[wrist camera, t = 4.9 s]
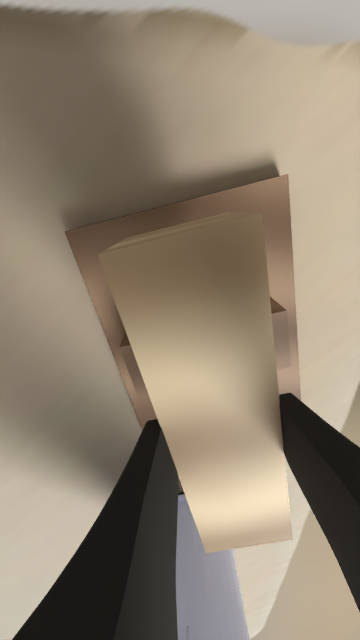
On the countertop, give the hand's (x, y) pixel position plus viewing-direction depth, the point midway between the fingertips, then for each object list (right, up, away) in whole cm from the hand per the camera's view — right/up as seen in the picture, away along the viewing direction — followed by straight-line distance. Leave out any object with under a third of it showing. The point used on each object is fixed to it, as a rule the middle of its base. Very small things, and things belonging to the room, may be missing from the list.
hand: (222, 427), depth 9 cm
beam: (0, +1, +3) cm, 3 cm away
